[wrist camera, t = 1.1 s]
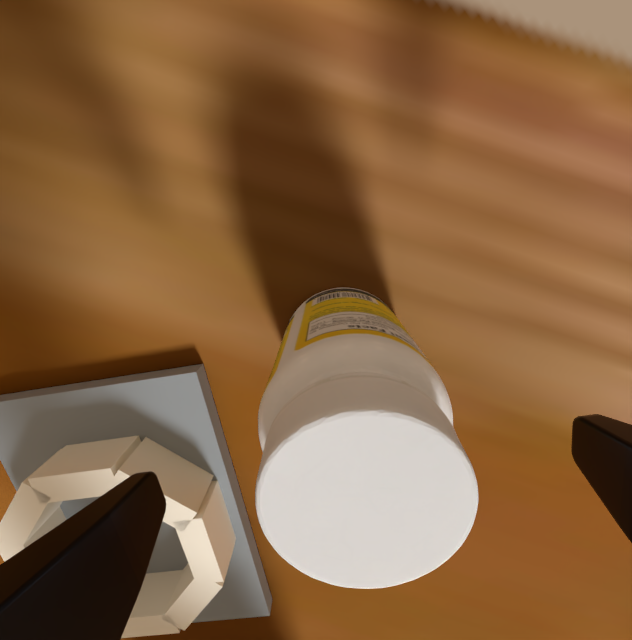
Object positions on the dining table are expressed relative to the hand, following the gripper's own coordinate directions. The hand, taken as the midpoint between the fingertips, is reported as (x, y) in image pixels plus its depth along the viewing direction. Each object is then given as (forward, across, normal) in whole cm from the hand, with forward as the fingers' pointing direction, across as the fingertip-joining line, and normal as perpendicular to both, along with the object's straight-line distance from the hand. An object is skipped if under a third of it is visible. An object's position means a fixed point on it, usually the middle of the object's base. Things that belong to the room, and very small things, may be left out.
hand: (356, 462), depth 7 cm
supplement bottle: (+7, 0, 0) cm, 7 cm away
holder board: (+7, +11, +7) cm, 15 cm away
